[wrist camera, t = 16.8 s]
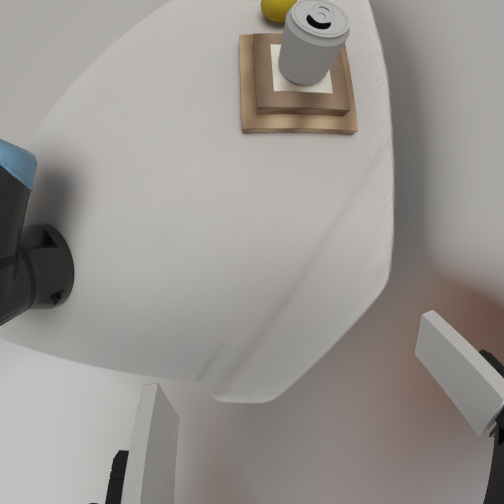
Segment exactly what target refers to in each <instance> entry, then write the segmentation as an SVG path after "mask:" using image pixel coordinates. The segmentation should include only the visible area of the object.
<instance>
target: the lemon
mask: <svg viewBox="0 0 504 504" xmlns="http://www.w3.org/2000/svg"><path fill="white" fill-rule="evenodd" d="M296 2H297V0H262V1H261V9H262V12H263V14H264V16H265V17H267V18H268V19H269V20H271V21H274V22H285V20H286V15H287V13H288V11H289V10H290V9H291V8H292V7H293V5H294V4H295V3H296Z"/></svg>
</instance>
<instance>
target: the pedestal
mask: <svg viewBox="0 0 504 504" xmlns="http://www.w3.org/2000/svg"><path fill="white" fill-rule="evenodd" d="M282 37H283V34H252V35H239V47H240V79H241V109H242V131H243V133H268V132H303V133H332V134H348V135H353V134H354V133H355V132H357V131H358V127H357V118H356V109H355V101H354V94H353V87H352V81H351V75H350V69H349V63H348V58H347V53H346V47H345V43H344V45H343V47H342V48H341V50H340V52H339V53H338V55H337V57H336V58H335V60H334V62H333V64H332V65H331V67H330V69H329V71H328V72H327V74H326V76H325V77H324V78H323V79H322V80H321V81H320V82H318V83H315V84H311V85H302V84H298V83H295V82H293V81H291V80H289V79H288V78H286V77H285V76H284V75H283V73H282V72H281V70H280V68H279V64H278V59H279V54H280V48H281V43H282Z"/></svg>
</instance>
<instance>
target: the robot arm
mask: <svg viewBox="0 0 504 504" xmlns="http://www.w3.org/2000/svg"><path fill="white" fill-rule="evenodd" d="M36 168H37V161H36V158H35V156H34V155H33V154H32V153H30V152H29V151H27V150H24V149H22V148H20V147H18V146H15V145H13V144H10V143H8V142H6V141H4V140H1V139H0V326H1V325H3V324H4V323H6V322H8V321H9V320H11V319H13V318H15V317H16V316H18V315H20V314H21V313H23V312H25V311H27V310H28V309H49V308H53V307H55V306H57V305H59V304H61V303H62V302H64V301H65V300H66V299H67V297H68V296H69V294H70V292H71V289H72V286H73V280H74V267H73V261H72V257H71V253H70V250H69V248H68V246H67V243H66V242H65V240H64V238H63V237H62V236H61V234H60V233H59V232H58V231H57V230H56V229H54V228H53V227H51V226H49V225H46V224H37V225H31V226H29V227H27V228H25V229H24V230H22V228H23V222H24V217H25V212H26V208H27V203H28V199H29V195H30V191H32V190H33V187H32V184H33V180H34V176H35V172H36ZM415 355H416V356H417V357H418V358H419V360H420V361H421V362H422V363H423V364H424V366H425V367H426V368H427V369H428V370H429V372H430V373H431V374H432V375H433V377H434V378H435V379H436V381H437V382H438V383H439V384H440V386H441V387H442V388H443V389H444V391H445V392H446V393H447V395H448V396H449V397H450V398H451V400H452V401H453V402H454V404H455V405H456V406H457V408H458V409H459V410H460V412H461V413H462V414H463V416H464V417H465V418H466V420H467V421H468V422H469V424H470V425H471V427H472V428H473V429H474V431H475V432H476V433H477V435H478V436H480V435H481V434H482V433H484V432H485V431H486V430H487V429H489V428H490V427H491V425H492V424H493V422H494V421H496V422H497V425H496V426H495V427H494V428H493V430H492V431H491V432H490V435H489V437H491V436H492V435H493V434H494V432H495V435H494V437H495V439H494V450H493V457H492V464H491V471H490V476H489V481H488V486H487V491H486V495H485V499H484V503H483V504H504V366H502V364H501V363H500V362H499V361H497V359H496V358H495V357H494V356H493V355H492V354H491V353H489V352H487V351H485V350H481V351H479V352H477V351H476V350H475V349H474V348H473V347H472V346H471V345H470V344H469V343H468V342H467V341H466V340H465V339H464V338H463V337H462V336H461V335H460V334H459V333H458V332H457V331H455V330H454V329H453V328H452V327H451V326H450V325H449V324H448V323H447V322H446V321H445V320H443V319H442V318H441V317H440V316H439V315H438V314H437V313H436V312H435V311H434V310H431V311H429V312H427V313H425V314H422V317H421V323H420V329H419V335H418V340H417V345H416V350H415ZM178 422H179V416H178V414H177V413H176V412H175V410H174V408H173V407H172V405H171V404H170V402H169V401H168V399H167V397H166V396H165V394H164V393H163V391H162V389H161V388H160V386H159V384H158V383H155V384H145V385H143V389H142V393H141V397H140V401H139V406H138V410H137V415H136V419H135V424H134V429H133V435H132V439H131V444H130V449H129V451H124V450H119V451H118V453H117V454H116V456H115V458H114V459H113V464H112V471H111V473H110V479H109V484H108V490H107V496H106V502H105V504H174V487H175V486H174V485H175V465H176V449H177V433H178ZM91 504H97V503H91Z"/></svg>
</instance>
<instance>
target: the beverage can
mask: <svg viewBox="0 0 504 504" xmlns="http://www.w3.org/2000/svg"><path fill="white" fill-rule="evenodd" d="M349 32H350V30H349V19H348V16H347V15H346V13H345V12H344V11H343V10H342V9H341V8H340V7H339V6H337V5H336V4H334V3H332V2H330V1H327V0H300V1H298V2H296V3H295V4H294V5H293V7H292V8H291V9H290V10H289V11H288V13H287V15H286V20H285V26H284V31H283V37H282V43H281V48H280V54H279V59H278V64H279V68H280V70H281V72H282V73H283V75H284V76H285V77H286V78H288V79H289V80H291V81H293V82H295V83H298V84H302V85H311V84H315V83H318V82H320V81H321V80H322V79H323V78H324V77H325V76H326V74H327V72H328V71H329V69H330V67H331V65H332V64H333V62H334V60H335V58H336V57H337V55H338V53H339V52H340V50H341V48H342V47H343V45H344V43H345V41H346V40H347V38H348V36H349Z"/></svg>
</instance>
